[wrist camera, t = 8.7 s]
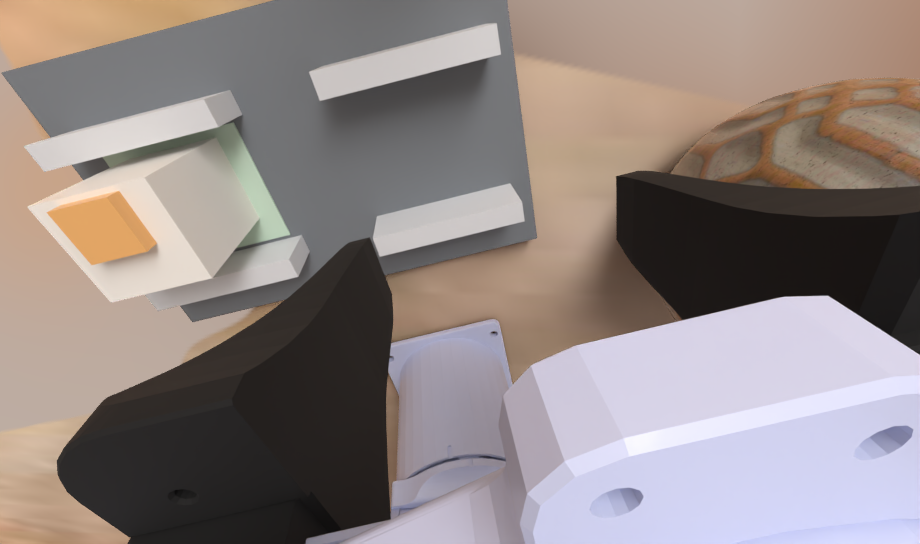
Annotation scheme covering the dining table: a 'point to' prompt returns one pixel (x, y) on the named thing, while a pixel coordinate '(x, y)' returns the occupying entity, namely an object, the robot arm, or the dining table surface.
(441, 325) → the dining table surface
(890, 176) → the vase
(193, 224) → the plug
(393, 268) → the panel
